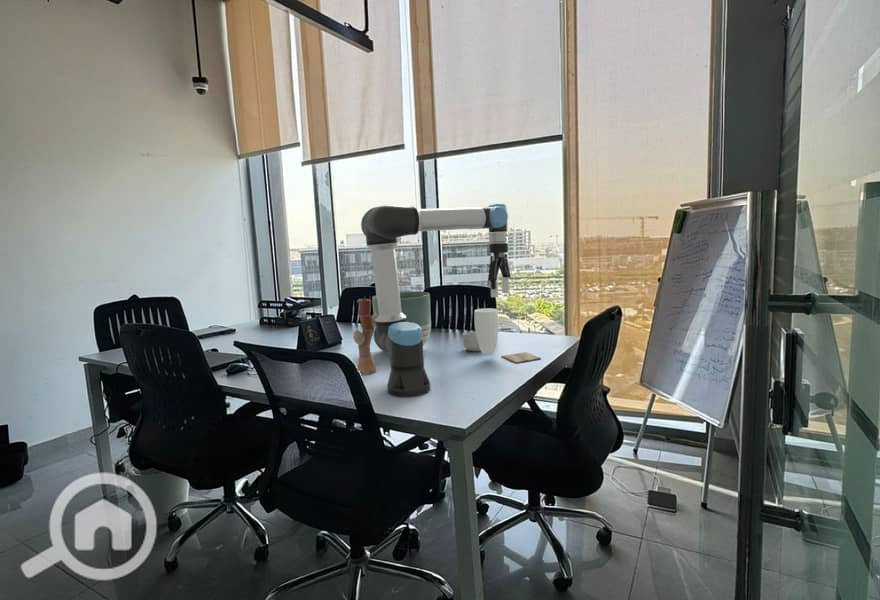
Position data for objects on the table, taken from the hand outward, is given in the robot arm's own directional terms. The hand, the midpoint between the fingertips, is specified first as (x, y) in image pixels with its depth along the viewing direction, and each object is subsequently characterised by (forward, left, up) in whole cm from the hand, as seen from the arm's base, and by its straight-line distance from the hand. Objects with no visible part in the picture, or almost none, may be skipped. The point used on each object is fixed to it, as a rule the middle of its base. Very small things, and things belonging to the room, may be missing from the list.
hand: (500, 295), depth 197 cm
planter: (-30, +40, -28) cm, 58 cm away
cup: (-4, +5, -28) cm, 29 cm away
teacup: (-1, +23, -28) cm, 36 cm away
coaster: (+9, 0, -28) cm, 29 cm away
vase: (-53, +15, -28) cm, 62 cm away
